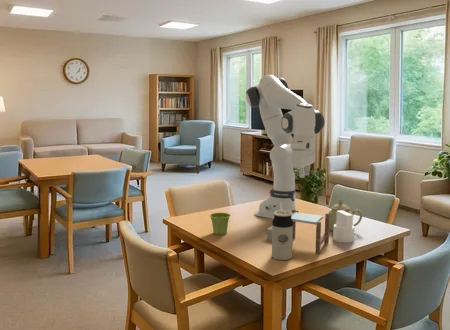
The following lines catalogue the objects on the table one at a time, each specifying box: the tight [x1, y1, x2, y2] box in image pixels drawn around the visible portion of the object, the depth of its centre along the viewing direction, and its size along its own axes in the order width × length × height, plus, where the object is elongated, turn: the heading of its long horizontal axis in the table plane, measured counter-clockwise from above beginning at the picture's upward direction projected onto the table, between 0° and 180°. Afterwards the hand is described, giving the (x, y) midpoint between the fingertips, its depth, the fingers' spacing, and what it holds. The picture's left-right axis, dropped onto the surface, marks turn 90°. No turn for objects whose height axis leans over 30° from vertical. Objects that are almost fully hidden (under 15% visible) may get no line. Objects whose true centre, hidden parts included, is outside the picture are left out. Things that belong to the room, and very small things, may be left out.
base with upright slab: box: [332, 210, 356, 243], centre depth 200 cm, size 9×9×12 cm
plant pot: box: [209, 212, 231, 236], centre depth 208 cm, size 9×9×9 cm
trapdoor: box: [291, 212, 324, 226], centre depth 191 cm, size 15×11×2 cm
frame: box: [292, 209, 330, 255], centre depth 191 cm, size 16×16×13 cm
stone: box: [266, 225, 272, 241], centre depth 200 cm, size 5×5×5 cm
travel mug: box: [271, 210, 294, 261], centre depth 177 cm, size 8×8×18 cm
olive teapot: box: [328, 198, 363, 232], centre depth 214 cm, size 15×11×15 cm
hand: (304, 176), depth 188 cm, fingers open, 4 cm apart
